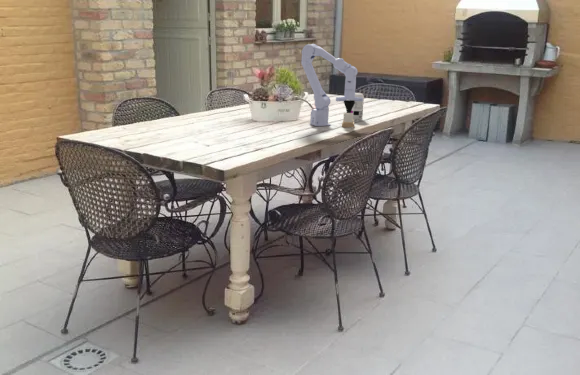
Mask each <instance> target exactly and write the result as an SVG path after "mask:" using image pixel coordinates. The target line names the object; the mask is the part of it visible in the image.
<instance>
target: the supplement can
mask: <svg viewBox="0 0 580 375" xmlns="http://www.w3.org/2000/svg"><path fill="white" fill-rule="evenodd" d="M355 97H361V98H363V102H361V101H355V104H354V106H353V108H352V110H351V113H353V119H354V121H362V119H363V117H364V115H363V113H364V99H365V96H364V94H363V93H361V92H355Z"/></svg>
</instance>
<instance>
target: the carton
mask: <svg viewBox="0 0 580 375" xmlns="http://www.w3.org/2000/svg"><path fill="white" fill-rule="evenodd" d="M349 127H354V128H355V121H353V124H347V123H343V122H342V123H341V128H349Z"/></svg>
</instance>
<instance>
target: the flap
mask: <svg viewBox="0 0 580 375" xmlns="http://www.w3.org/2000/svg"><path fill="white" fill-rule="evenodd" d="M353 122H355V120H354V119H353V113H347V112H343V120H342V123H347V124H353Z"/></svg>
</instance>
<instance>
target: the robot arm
mask: <svg viewBox="0 0 580 375" xmlns="http://www.w3.org/2000/svg"><path fill="white" fill-rule="evenodd" d="M316 57H322V58H323V59H324V60H326V61H328V62H330V64H331V63H332V65H333V68H334V69H335V70H338V71H339V72H341V74H344V76H345V80H344V93H343V94H344V95H343V96H336V97H335V102H343V104H344V107H345V110H346V113H351V110H352V108H353V106H354V104H355V101H361V102H363V98H361V97H355V93H356V86H357V75H358V74H359V72H358V71H359V70H358V69H357V66H354V65H352V64H351V63H348V62H347V61H345V59H344V58H341V57H338V58H336V57H335V56H334V55H332V54H331V53H330V52H328V51H326V50H325V49H324V48H322V46H319V45H317V44H315V43H311V44H305V45H304V46H303V48H302V49H301V62H300V64H301V66H302V68H303V71H304V73H305V75H306V78H307V81H308V83H309V85H310V87H311V89H312V92H313V99H314V106H315V108H313V109H311V111H310V122H309V125H312V126H314V127H322V126H323V127H325V126H332V124H330V123H329V114H330V113H329V111H330V110H329V109H330V107H329V106H330V104H331V98H330V97H329V96H328V95H327V93H326V91H324V89H323V87H322V84H321V82H320V80H319V77H318V75H317V72H316V71H315V68H314V66H313V61H314V59H315V58H316ZM363 103H364V102H363Z"/></svg>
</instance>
